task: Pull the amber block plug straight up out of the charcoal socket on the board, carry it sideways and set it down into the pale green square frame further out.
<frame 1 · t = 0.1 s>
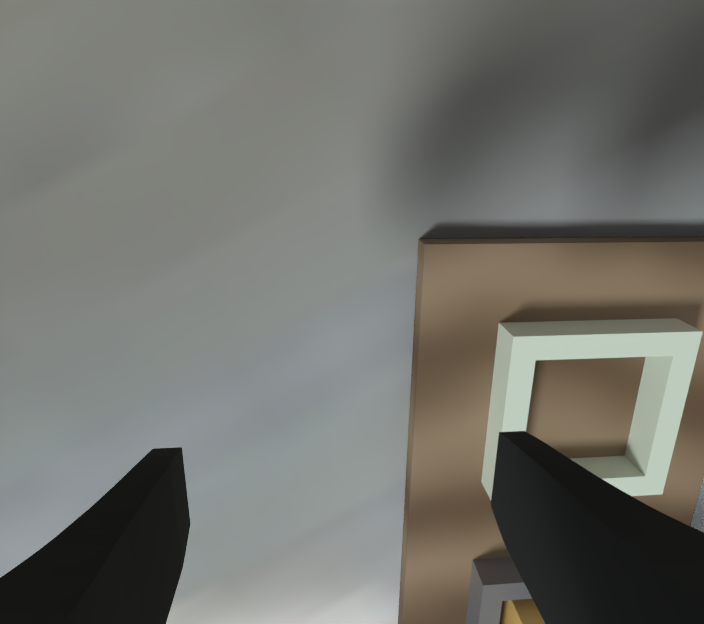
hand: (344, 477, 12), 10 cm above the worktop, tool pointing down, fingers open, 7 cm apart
switch board: (546, 502, 26), on the worktop
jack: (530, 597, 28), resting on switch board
pale green square frame: (564, 392, 24), resting on switch board
plug: (539, 613, 27), point 1 cm above the worktop, touching switch board
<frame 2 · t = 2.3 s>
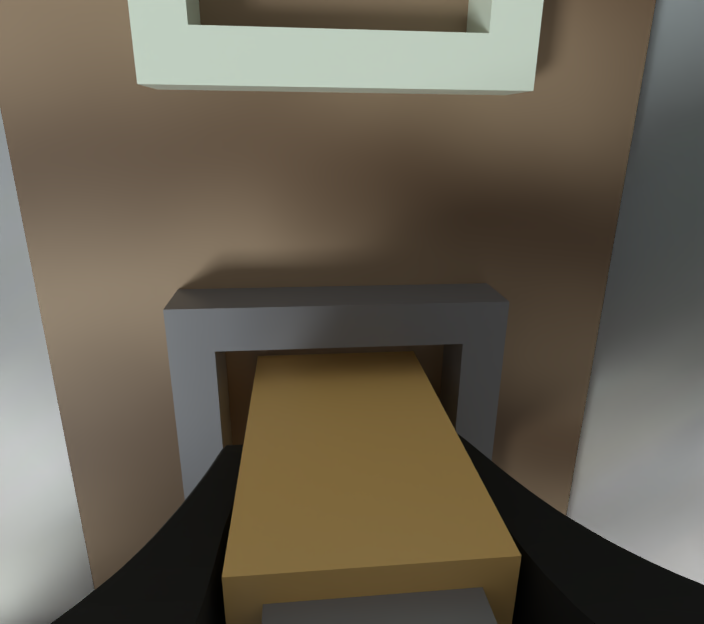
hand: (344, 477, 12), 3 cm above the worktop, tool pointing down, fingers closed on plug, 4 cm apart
switch board: (333, 190, 13), on the worktop
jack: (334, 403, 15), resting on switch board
plug: (336, 421, 14), point 1 cm above the worktop, touching gripper, switch board
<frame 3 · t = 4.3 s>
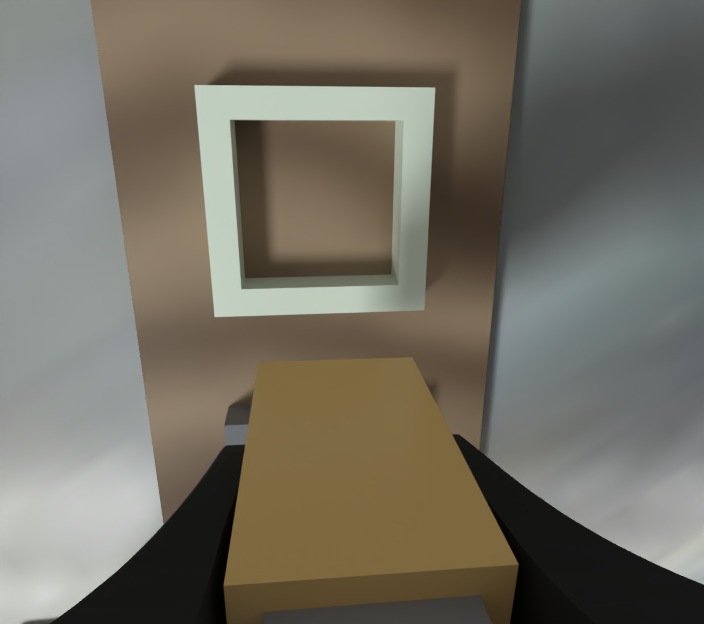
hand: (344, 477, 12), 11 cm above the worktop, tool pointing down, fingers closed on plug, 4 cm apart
switch board: (319, 343, 22), on the worktop
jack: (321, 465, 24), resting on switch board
pale green square frame: (316, 198, 20), resting on switch board
plug: (336, 427, 14), point 8 cm above the worktop, touching gripper
when the fingers open (4 cm above the worktop, at t = 6.2 s): plug stays where it is, resting on switch board.
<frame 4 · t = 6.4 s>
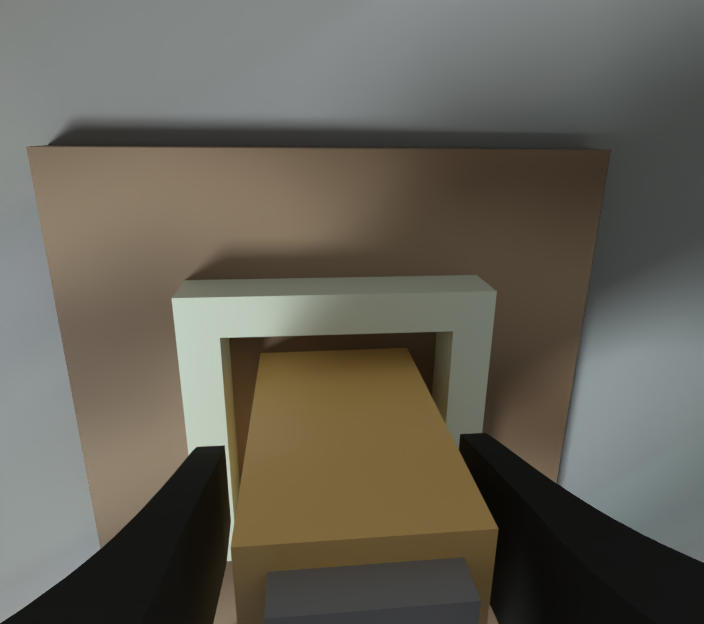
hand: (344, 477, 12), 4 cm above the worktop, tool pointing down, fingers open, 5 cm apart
switch board: (332, 549, 18), on the worktop
pale green square frame: (332, 390, 16), resting on switch board
plug: (335, 415, 15), point 1 cm above the worktop, touching switch board
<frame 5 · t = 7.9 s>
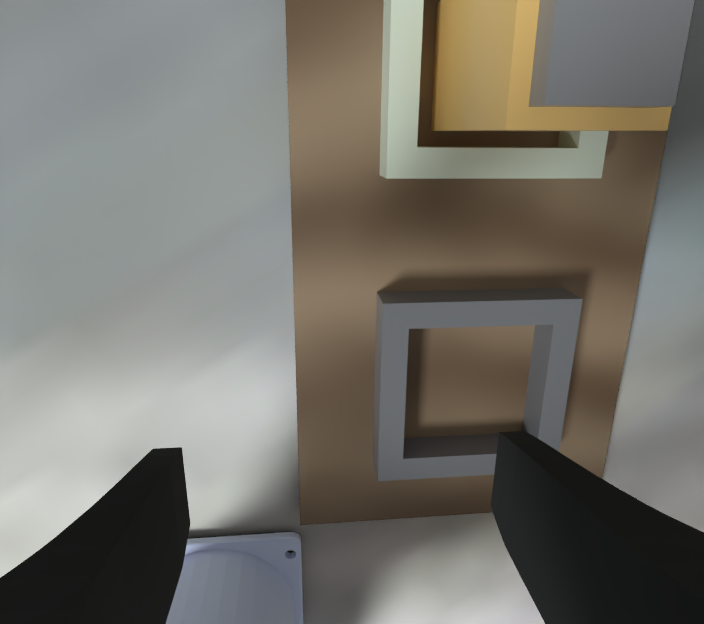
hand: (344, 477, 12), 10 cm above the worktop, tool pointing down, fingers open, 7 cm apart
switch board: (468, 229, 21), on the worktop
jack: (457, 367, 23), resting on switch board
pale green square frame: (481, 65, 19), resting on switch board
plug: (490, 70, 18), point 1 cm above the worktop, touching switch board
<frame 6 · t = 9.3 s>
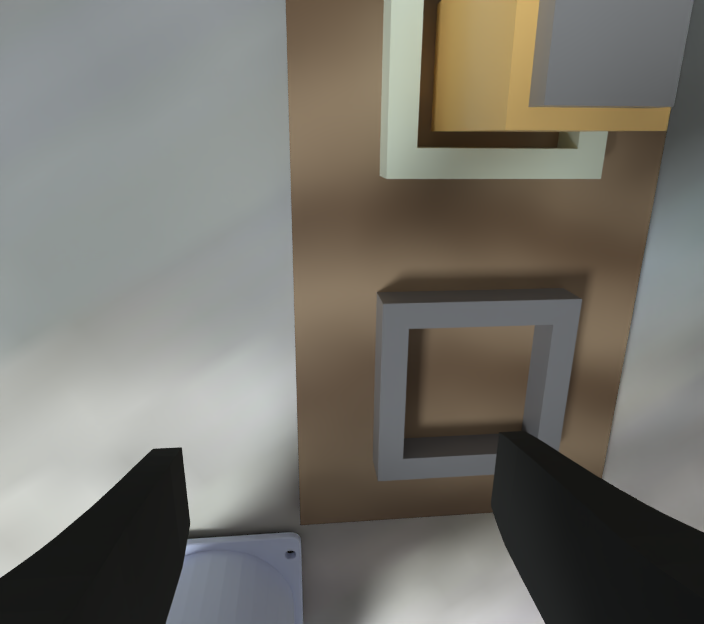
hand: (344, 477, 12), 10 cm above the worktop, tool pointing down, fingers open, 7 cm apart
switch board: (468, 230, 21), on the worktop
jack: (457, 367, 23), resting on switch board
pale green square frame: (481, 66, 19), resting on switch board
plug: (490, 71, 18), point 1 cm above the worktop, touching switch board
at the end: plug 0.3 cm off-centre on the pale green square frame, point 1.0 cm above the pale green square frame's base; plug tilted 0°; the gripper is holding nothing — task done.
